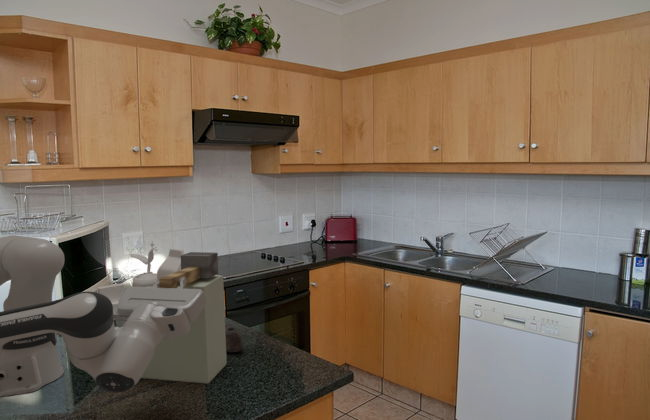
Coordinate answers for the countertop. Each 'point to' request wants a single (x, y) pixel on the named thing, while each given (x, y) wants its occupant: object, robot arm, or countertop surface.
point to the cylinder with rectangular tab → (112, 293)
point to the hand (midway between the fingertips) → (175, 278)
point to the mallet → (192, 268)
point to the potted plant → (148, 277)
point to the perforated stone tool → (232, 339)
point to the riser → (195, 341)
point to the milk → (170, 263)
